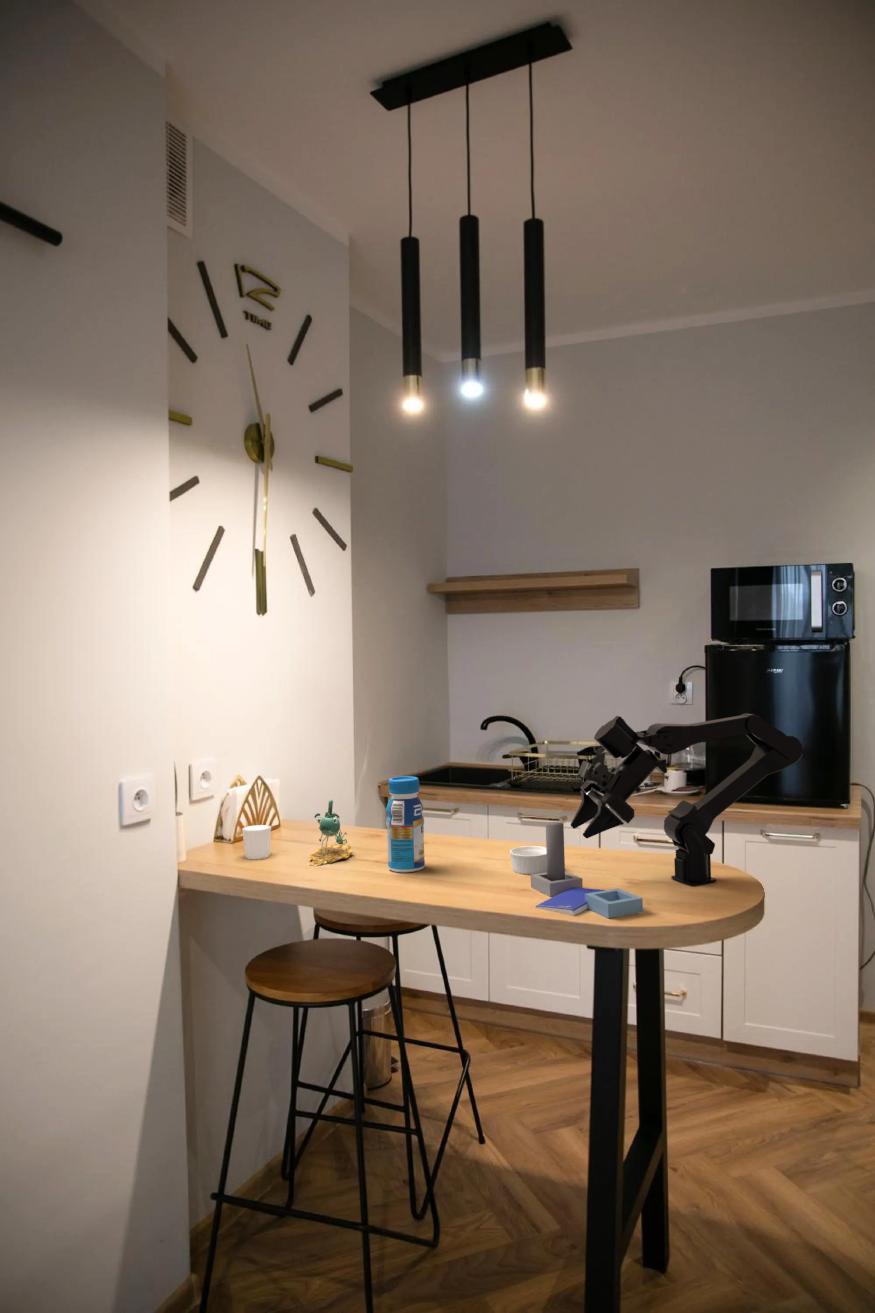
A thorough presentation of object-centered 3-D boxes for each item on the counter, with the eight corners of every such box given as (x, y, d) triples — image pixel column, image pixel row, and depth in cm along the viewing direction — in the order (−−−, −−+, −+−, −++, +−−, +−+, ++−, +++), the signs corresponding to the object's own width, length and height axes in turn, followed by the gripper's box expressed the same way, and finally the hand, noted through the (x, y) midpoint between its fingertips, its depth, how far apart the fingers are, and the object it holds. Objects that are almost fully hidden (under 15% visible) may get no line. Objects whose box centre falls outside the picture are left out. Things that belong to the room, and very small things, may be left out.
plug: (559, 886, 174) (557, 821, 174) (568, 890, 171) (566, 824, 170) (544, 888, 172) (542, 823, 172) (553, 892, 169) (551, 826, 169)
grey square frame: (562, 882, 176) (562, 870, 176) (582, 891, 170) (582, 878, 170) (531, 887, 173) (530, 875, 173) (550, 896, 167) (549, 883, 167)
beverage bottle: (381, 867, 193) (378, 778, 193) (415, 861, 197) (412, 774, 197) (397, 875, 186) (394, 782, 186) (432, 869, 190) (429, 778, 189)
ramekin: (550, 876, 182) (549, 855, 182) (508, 875, 183) (507, 855, 183) (552, 865, 190) (552, 846, 190) (512, 865, 192) (512, 845, 192)
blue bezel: (618, 901, 162) (618, 888, 162) (642, 912, 155) (642, 898, 155) (585, 907, 159) (584, 894, 159) (608, 918, 152) (608, 904, 152)
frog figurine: (370, 850, 211) (365, 791, 209) (330, 877, 194) (325, 813, 193) (336, 847, 215) (331, 789, 213) (295, 873, 199) (289, 810, 197)
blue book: (572, 908, 155) (607, 889, 164) (535, 904, 160) (570, 886, 169) (573, 917, 155) (608, 898, 164) (536, 913, 160) (571, 894, 169)
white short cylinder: (266, 860, 203) (265, 830, 203) (238, 860, 204) (237, 830, 204) (276, 853, 210) (275, 824, 210) (249, 853, 211) (248, 824, 211)
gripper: (589, 741, 182) (538, 796, 181) (616, 752, 163) (560, 813, 162) (626, 777, 182) (576, 832, 181) (658, 792, 164) (602, 853, 163)
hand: (578, 831), depth 172 cm, fingers open, 9 cm apart
